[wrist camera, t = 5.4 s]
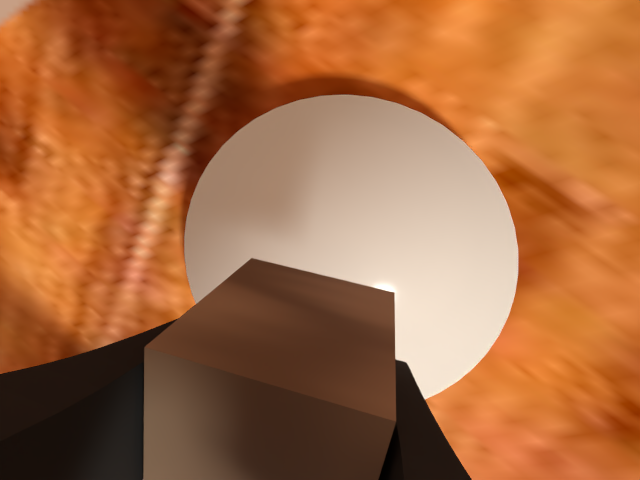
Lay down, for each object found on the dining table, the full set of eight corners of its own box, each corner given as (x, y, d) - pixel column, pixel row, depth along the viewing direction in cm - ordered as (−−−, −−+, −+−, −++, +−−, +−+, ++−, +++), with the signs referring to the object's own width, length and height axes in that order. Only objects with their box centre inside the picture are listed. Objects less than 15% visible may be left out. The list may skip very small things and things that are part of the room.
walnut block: (238, 374, 12) (143, 519, 8) (251, 258, 11) (144, 346, 6) (363, 411, 12) (342, 594, 7) (394, 292, 10) (396, 421, 6)
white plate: (186, 354, 21) (177, 364, 20) (205, 71, 16) (193, 66, 15) (452, 433, 19) (455, 449, 18) (568, 132, 14) (581, 132, 13)
